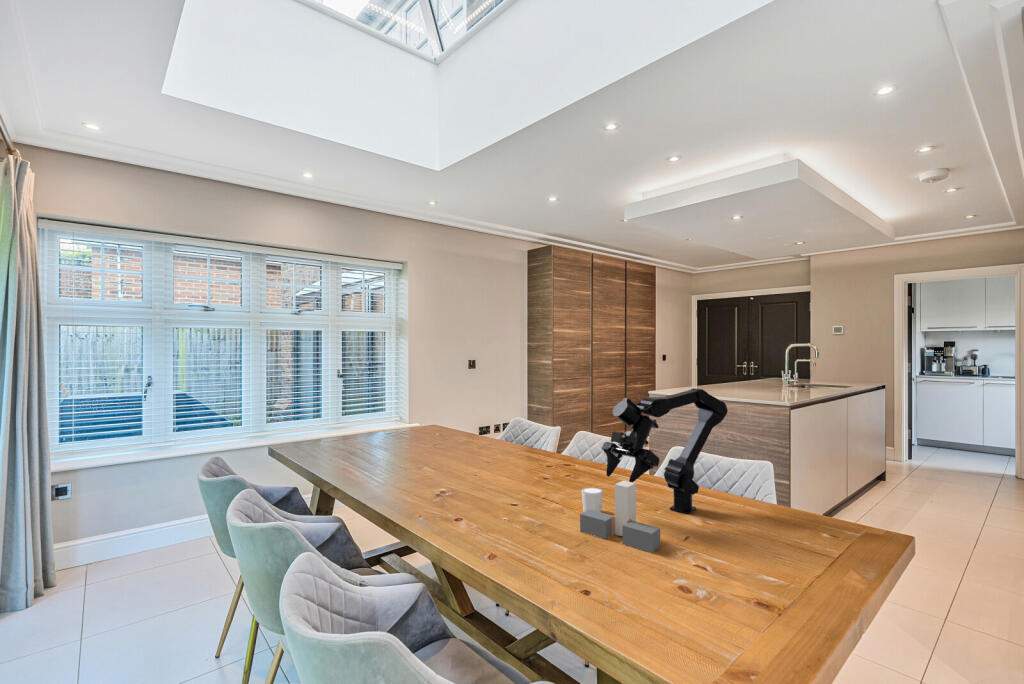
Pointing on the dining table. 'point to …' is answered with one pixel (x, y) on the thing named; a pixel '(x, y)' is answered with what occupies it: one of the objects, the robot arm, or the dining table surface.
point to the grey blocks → (632, 531)
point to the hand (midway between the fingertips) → (618, 479)
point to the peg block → (624, 504)
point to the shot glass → (592, 499)
